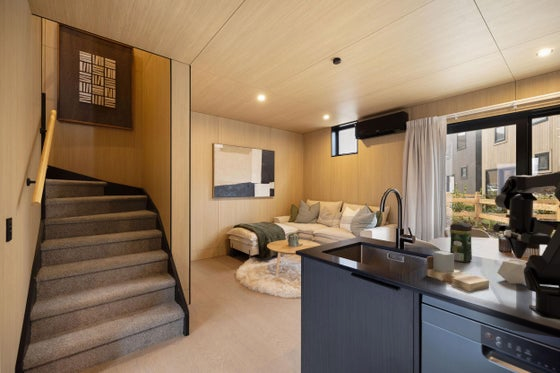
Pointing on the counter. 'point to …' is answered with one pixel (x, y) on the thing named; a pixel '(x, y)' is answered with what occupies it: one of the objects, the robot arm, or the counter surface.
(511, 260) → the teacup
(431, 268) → the trap box
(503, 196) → the robot arm
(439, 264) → the gray block
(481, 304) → the counter surface
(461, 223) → the coffee jar
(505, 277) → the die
